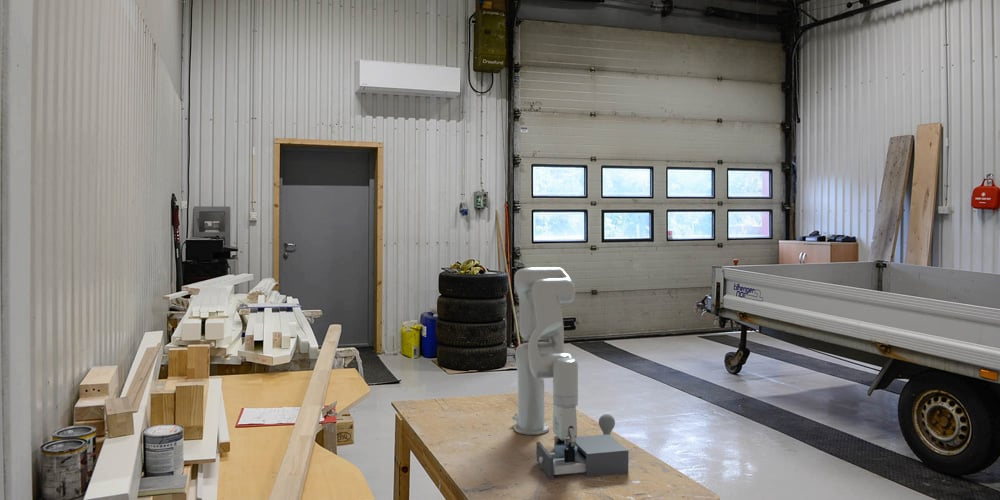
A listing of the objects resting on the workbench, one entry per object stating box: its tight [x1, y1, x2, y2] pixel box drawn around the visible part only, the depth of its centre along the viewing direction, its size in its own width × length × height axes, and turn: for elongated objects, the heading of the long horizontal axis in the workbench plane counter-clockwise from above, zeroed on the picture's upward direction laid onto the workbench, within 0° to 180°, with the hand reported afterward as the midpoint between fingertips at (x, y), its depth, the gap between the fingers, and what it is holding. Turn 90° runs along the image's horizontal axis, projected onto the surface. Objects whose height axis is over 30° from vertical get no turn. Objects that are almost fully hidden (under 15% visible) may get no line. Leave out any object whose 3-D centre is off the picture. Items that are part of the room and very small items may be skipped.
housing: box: [575, 433, 629, 478], centre depth 198 cm, size 15×13×7 cm
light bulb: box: [598, 413, 616, 435], centre depth 218 cm, size 6×6×10 cm
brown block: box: [553, 435, 570, 447], centre depth 212 cm, size 5×5×4 cm
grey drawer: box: [535, 441, 586, 480], centre depth 195 cm, size 15×14×6 cm
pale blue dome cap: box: [553, 444, 577, 457], centre depth 195 cm, size 7×7×2 cm
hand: (565, 457), depth 196 cm, fingers closed on pale blue dome cap, 6 cm apart
